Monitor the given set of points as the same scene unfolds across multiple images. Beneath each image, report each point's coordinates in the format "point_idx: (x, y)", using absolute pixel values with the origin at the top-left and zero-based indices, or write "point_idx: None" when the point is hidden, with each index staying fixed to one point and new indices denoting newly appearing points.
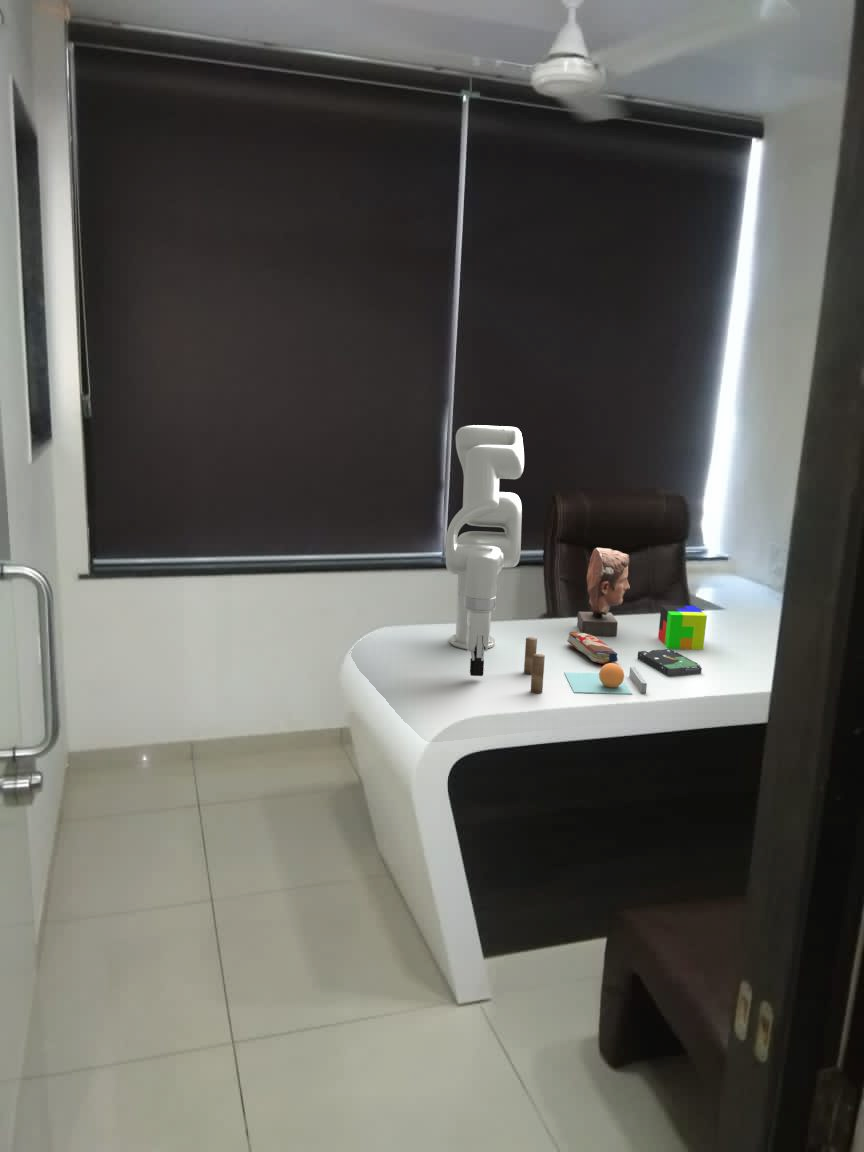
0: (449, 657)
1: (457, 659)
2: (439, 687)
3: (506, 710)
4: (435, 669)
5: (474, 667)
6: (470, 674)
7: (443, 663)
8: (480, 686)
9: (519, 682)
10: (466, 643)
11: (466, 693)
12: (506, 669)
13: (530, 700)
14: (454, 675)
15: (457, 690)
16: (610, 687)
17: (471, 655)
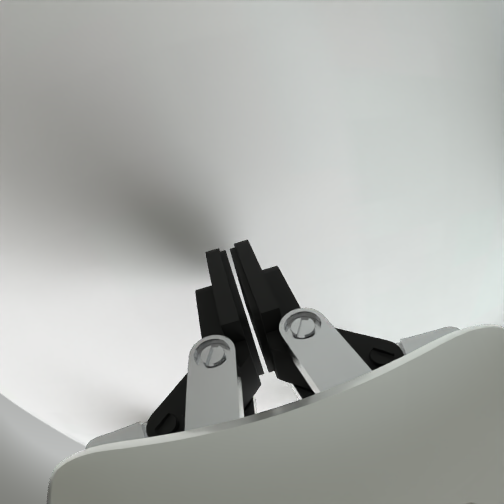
0: (492, 92)
1: (480, 124)
2: (33, 94)
3: (4, 389)
4: (356, 4)
5: (200, 314)
6: (206, 253)
7: (441, 56)
8: (147, 295)
9: (259, 387)
10: (299, 438)
11: (25, 260)
12: (387, 319)
13: (112, 426)
14: (282, 118)
15: (34, 207)
16: None
17: (316, 314)
